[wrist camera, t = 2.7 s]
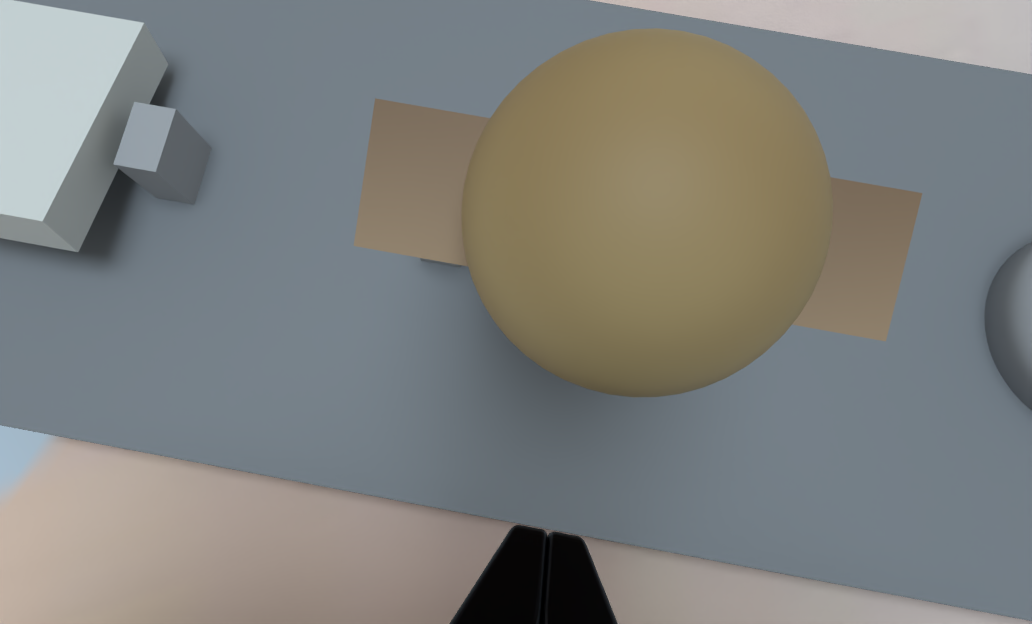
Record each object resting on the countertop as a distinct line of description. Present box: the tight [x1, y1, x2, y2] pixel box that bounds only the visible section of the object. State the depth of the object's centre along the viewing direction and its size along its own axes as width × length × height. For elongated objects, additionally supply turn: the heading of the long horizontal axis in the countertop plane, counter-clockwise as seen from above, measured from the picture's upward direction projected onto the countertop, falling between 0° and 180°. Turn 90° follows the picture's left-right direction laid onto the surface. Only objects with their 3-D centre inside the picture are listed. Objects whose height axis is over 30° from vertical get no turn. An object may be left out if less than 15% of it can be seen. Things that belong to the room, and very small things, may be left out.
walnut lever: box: [354, 28, 922, 397], centre depth 11 cm, size 3×4×14 cm, turn 80°
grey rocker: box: [0, 0, 168, 252], centre depth 16 cm, size 6×4×1 cm, turn 170°
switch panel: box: [0, 0, 1032, 621], centre depth 17 cm, size 14×38×4 cm, turn 80°
